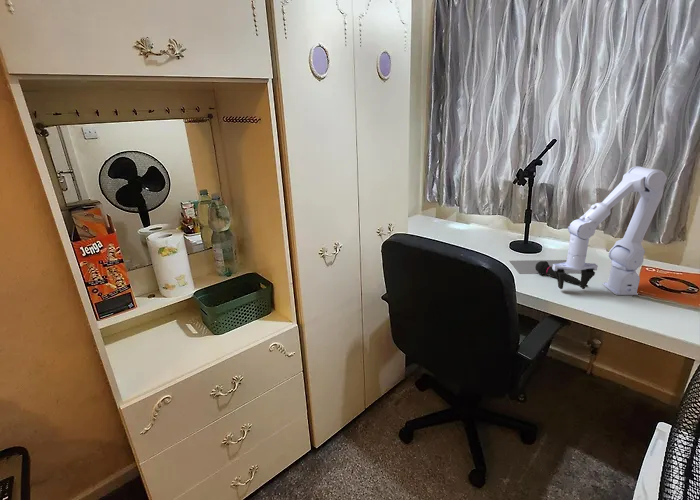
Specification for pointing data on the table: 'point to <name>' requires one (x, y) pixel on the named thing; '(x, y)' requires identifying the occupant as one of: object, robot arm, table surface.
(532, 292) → the table surface
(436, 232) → the table surface
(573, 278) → the microphone
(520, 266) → the charcoal mat
